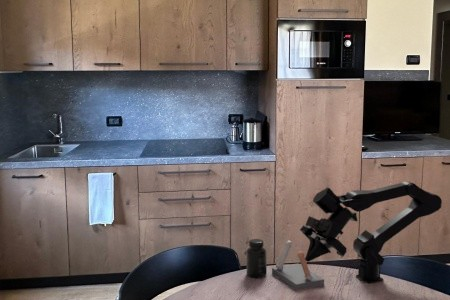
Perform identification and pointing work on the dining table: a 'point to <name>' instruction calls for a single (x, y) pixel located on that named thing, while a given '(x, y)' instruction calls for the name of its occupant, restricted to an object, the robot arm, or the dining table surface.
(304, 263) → the terracotta lever
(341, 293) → the dining table surface
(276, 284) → the dining table surface
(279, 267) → the pale grey lever
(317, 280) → the switch panel
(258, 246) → the supplement bottle
